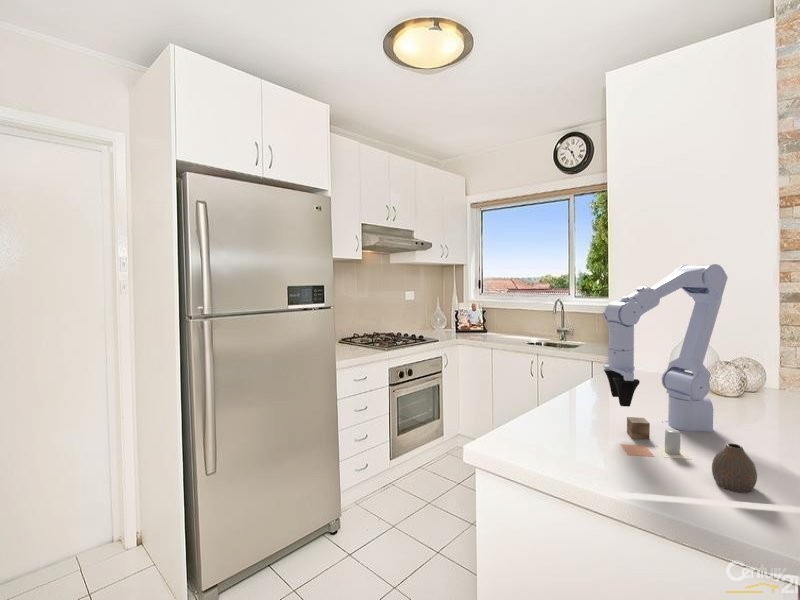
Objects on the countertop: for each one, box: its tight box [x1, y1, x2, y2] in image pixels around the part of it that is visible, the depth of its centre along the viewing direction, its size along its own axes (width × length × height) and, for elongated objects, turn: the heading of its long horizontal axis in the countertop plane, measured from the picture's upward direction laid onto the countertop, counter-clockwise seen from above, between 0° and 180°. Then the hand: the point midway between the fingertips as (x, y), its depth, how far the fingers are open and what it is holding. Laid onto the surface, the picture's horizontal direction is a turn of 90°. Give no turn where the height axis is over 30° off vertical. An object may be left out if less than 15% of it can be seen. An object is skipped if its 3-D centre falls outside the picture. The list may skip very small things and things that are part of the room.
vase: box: [711, 443, 758, 494], centre depth 82 cm, size 7×7×9 cm
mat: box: [619, 443, 692, 460], centre depth 98 cm, size 13×8×1 cm, turn 77°
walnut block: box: [626, 416, 651, 440], centre depth 106 cm, size 4×4×5 cm
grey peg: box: [664, 428, 682, 455], centre depth 96 cm, size 3×3×5 cm
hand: (620, 401), depth 107 cm, fingers open, 7 cm apart
